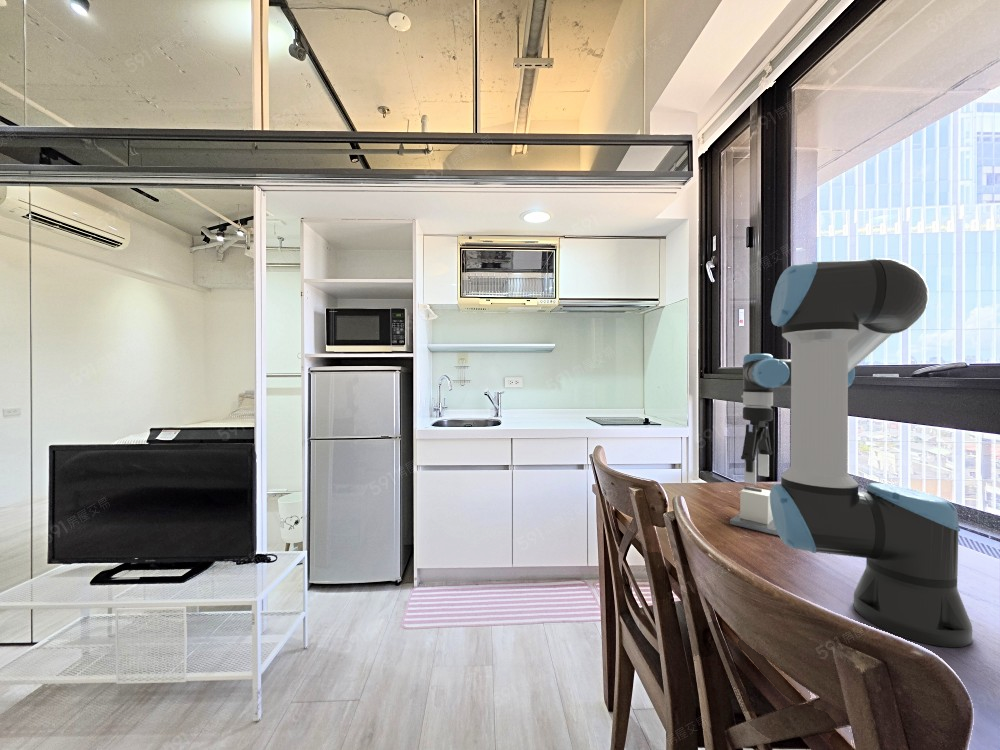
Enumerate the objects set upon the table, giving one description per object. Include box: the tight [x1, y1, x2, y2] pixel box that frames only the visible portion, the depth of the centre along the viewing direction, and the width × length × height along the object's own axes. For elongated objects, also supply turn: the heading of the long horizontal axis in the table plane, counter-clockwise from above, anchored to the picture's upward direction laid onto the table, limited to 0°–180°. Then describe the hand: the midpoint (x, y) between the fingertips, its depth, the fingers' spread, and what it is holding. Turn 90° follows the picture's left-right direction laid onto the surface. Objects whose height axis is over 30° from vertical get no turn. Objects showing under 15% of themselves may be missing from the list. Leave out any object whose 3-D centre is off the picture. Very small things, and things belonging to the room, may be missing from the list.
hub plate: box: [729, 512, 780, 537], centre depth 123 cm, size 14×14×5 cm
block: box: [739, 486, 773, 525], centre depth 124 cm, size 8×7×9 cm
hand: (757, 479), depth 124 cm, fingers open, 13 cm apart
